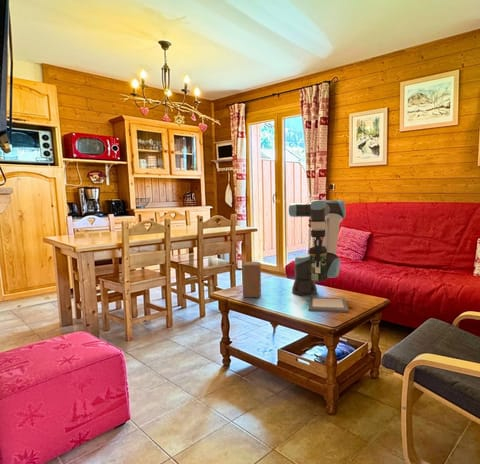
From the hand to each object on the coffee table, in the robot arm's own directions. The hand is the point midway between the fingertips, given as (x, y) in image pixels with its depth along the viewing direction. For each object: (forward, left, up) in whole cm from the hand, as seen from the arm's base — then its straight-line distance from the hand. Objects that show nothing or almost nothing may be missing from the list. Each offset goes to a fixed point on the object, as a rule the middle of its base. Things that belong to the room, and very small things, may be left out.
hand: (318, 270), depth 188 cm
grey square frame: (-2, +5, -19) cm, 20 cm away
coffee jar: (0, 0, -5) cm, 5 cm away
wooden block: (-15, -39, -20) cm, 46 cm away
